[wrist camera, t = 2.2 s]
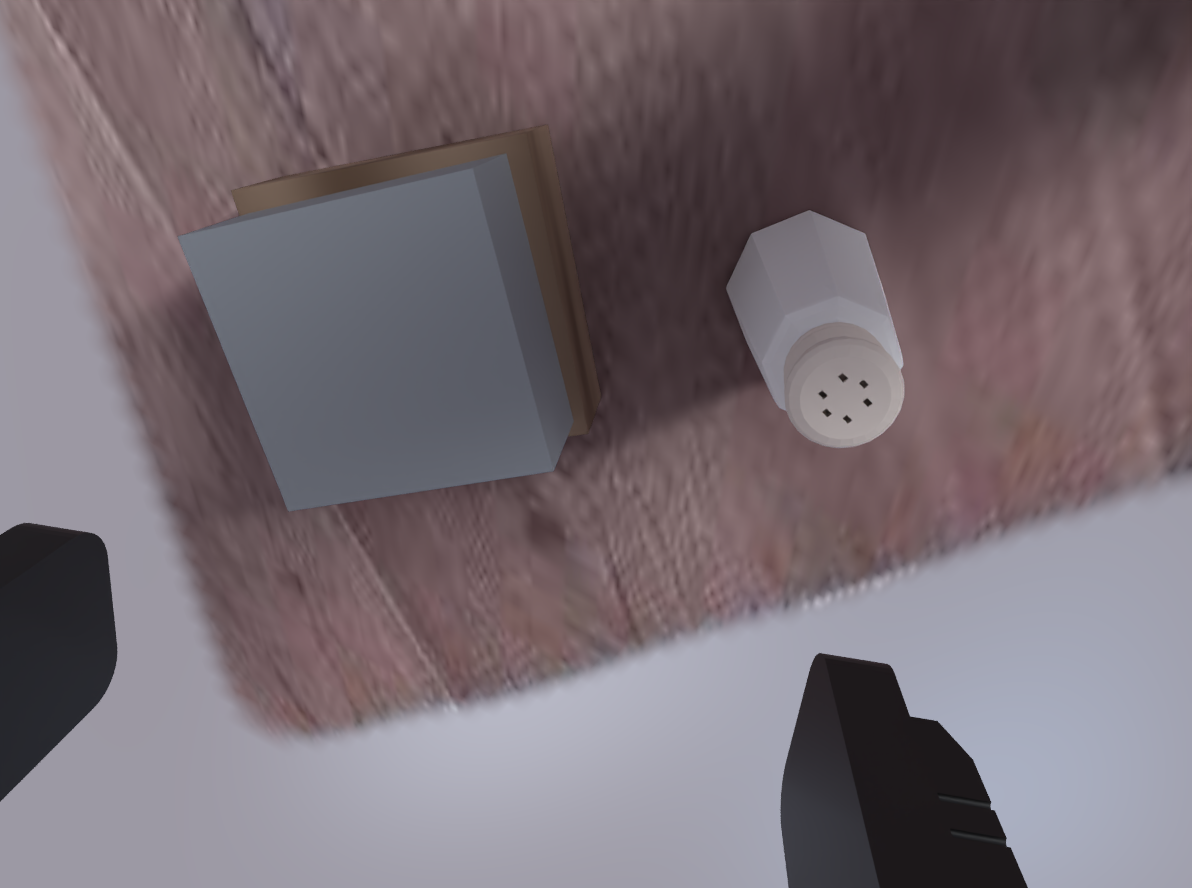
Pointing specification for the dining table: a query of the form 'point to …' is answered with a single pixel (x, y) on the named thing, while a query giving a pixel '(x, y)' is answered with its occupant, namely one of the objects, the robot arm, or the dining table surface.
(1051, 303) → the dining table surface
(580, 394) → the walnut base block
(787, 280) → the pepper shaker
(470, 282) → the grey top block
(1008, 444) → the dining table surface
